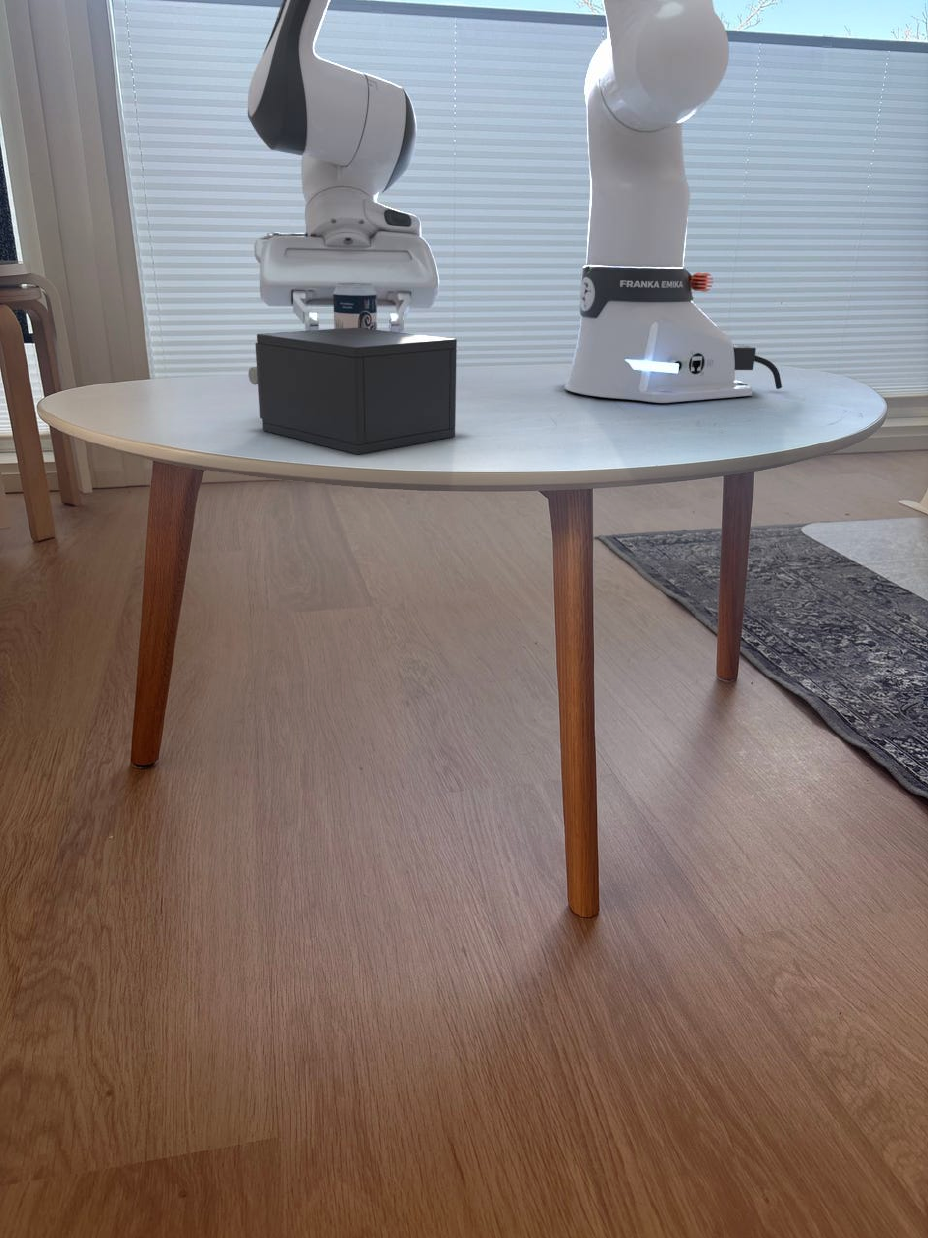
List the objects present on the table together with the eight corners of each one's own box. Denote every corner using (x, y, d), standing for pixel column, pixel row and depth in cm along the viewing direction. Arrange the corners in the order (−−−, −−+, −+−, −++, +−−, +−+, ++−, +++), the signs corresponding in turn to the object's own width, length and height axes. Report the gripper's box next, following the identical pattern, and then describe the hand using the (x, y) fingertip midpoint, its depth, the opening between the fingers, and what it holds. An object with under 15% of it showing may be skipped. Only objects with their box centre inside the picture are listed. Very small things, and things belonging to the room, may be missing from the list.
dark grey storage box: (262, 430, 86) (256, 333, 83) (359, 416, 94) (356, 327, 90) (357, 454, 77) (355, 347, 74) (455, 436, 85) (457, 338, 82)
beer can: (375, 399, 104) (374, 285, 99) (333, 398, 104) (329, 284, 99) (380, 392, 108) (378, 283, 104) (339, 391, 108) (336, 282, 104)
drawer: (235, 412, 89) (230, 338, 87) (321, 401, 96) (319, 333, 94) (345, 438, 79) (343, 355, 76) (433, 424, 86) (433, 347, 83)
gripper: (252, 211, 104) (258, 310, 98) (433, 217, 108) (447, 312, 103) (254, 253, 109) (260, 349, 104) (426, 257, 113) (439, 349, 108)
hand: (354, 330), depth 103 cm, fingers open, 8 cm apart
